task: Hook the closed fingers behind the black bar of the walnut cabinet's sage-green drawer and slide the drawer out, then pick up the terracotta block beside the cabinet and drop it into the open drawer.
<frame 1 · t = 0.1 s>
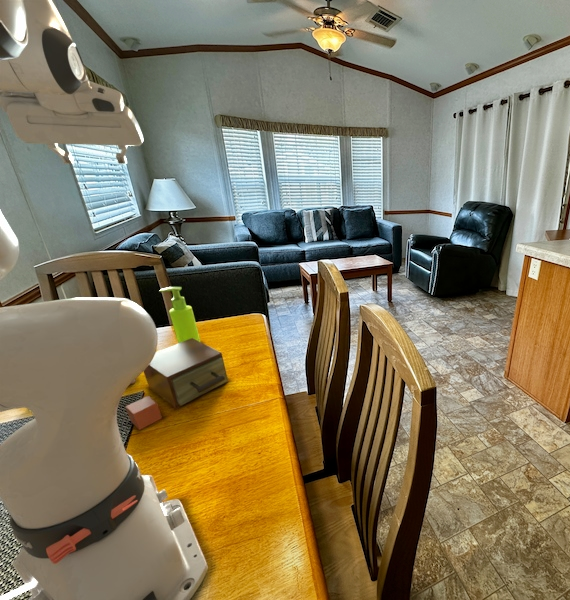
hand: (96, 162, 74), 54 cm above the table, tool tilted 30°, fingers open, 8 cm apart
drawer: (193, 375, 82), point 4 cm above the table, slide at 0.0 cm
soap dispenser: (189, 347, 105), on the table
cabinet: (189, 384, 86), on the table
block: (146, 420, 74), on the table
sunglasses case: (92, 391, 84), on the table
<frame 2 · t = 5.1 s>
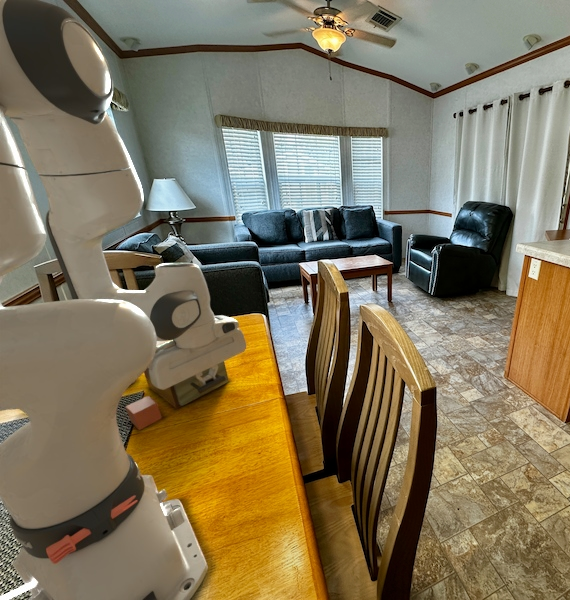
hand: (208, 383, 78), 5 cm above the table, tool pointing down, fingers closed
drawer: (194, 376, 82), point 4 cm above the table, slide at 0.5 cm, touching gripper
everything else where it was.
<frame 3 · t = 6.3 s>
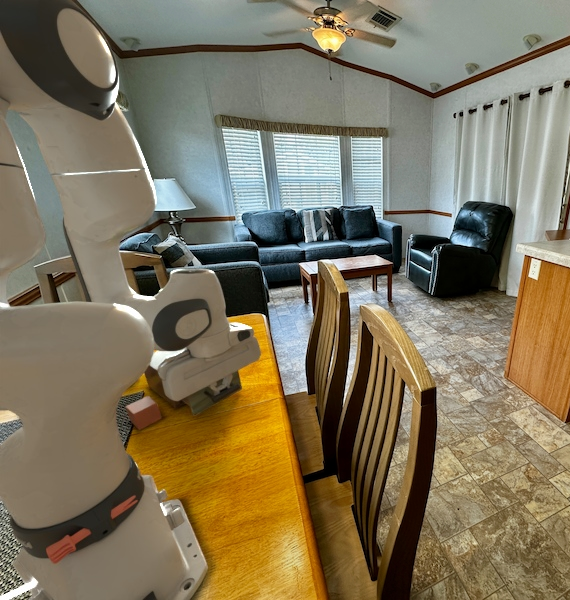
hand: (222, 393, 75), 5 cm above the table, tool pointing down, fingers closed, pressing on drawer
drawer: (207, 383, 79), point 4 cm above the table, slide at 6.4 cm, touching gripper
everything else where it was.
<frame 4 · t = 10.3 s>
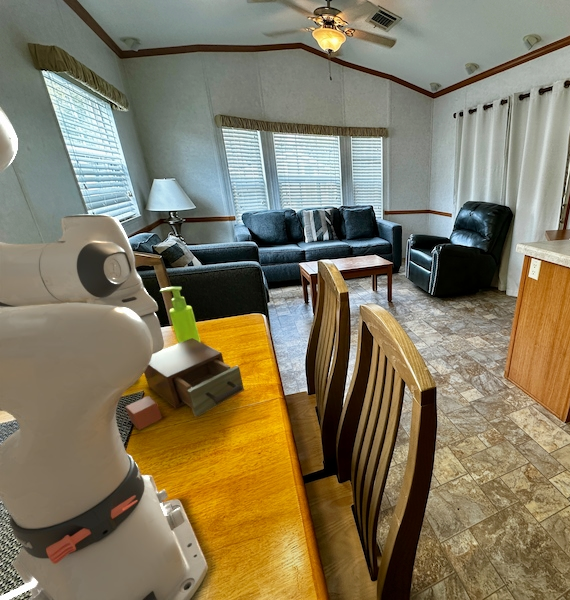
hand: (139, 360, 68), 15 cm above the table, tool pointing down, fingers closed
drawer: (208, 384, 78), point 4 cm above the table, slide at 7.2 cm
everything else where it was.
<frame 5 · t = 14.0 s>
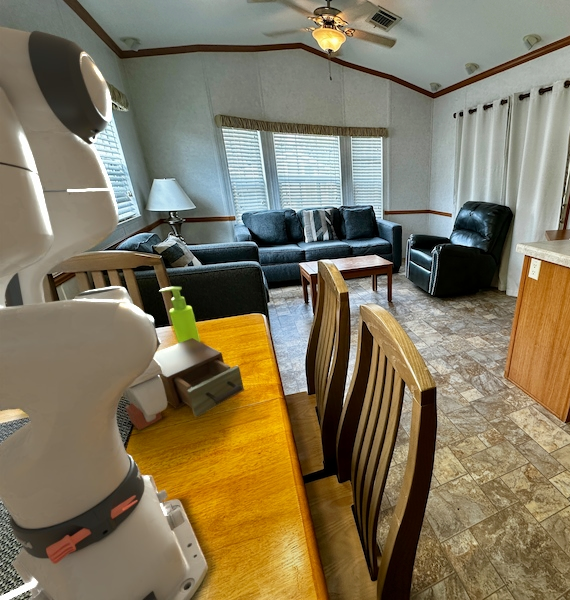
hand: (144, 414, 73), 2 cm above the table, tool pointing down, fingers closed on block, 4 cm apart
block: (146, 420, 74), on the table, touching gripper
everything else where it was.
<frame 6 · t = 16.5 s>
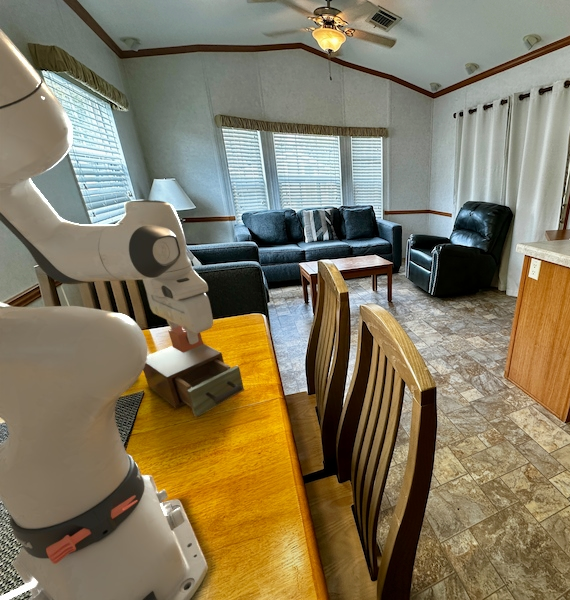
hand: (186, 339, 73), 17 cm above the table, tool pointing down, fingers closed on block, 4 cm apart
block: (188, 345, 74), point 16 cm above the table, touching gripper
everything else where it was.
when the fingers open (9 cm above the table, at t = 19.2 s): block drops 5 cm, resting on drawer.
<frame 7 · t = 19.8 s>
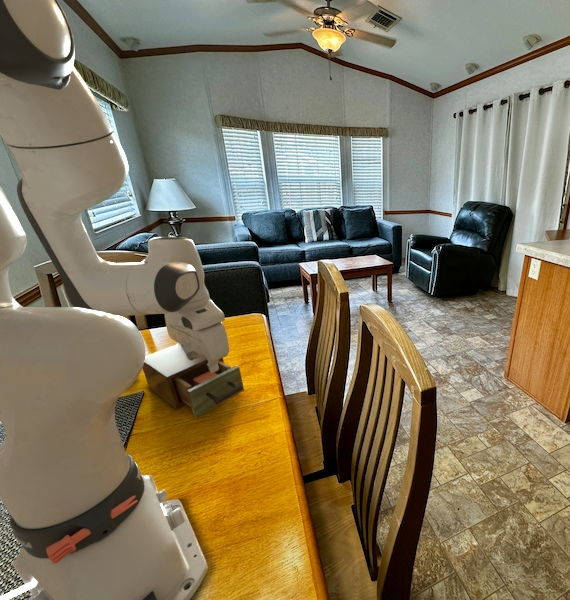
hand: (202, 364, 76), 10 cm above the table, tool pointing down, fingers open, 8 cm apart
drawer: (209, 385, 78), point 4 cm above the table, slide at 7.3 cm, touching block
block: (210, 392, 79), point 2 cm above the table, touching drawer
everything else where it was.
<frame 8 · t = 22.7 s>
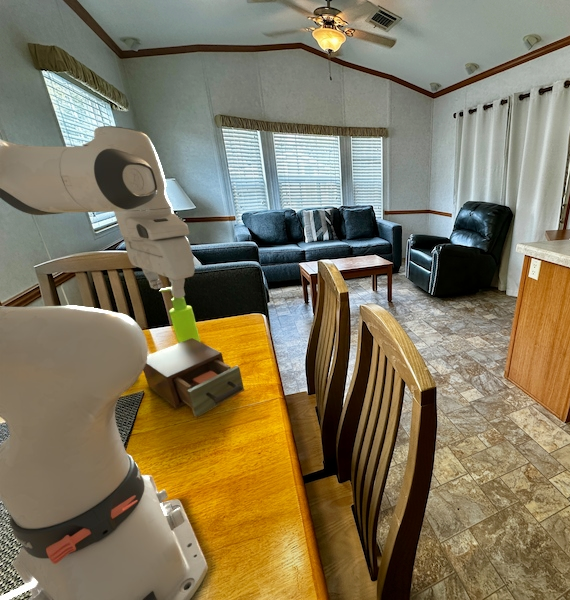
hand: (167, 292, 67), 29 cm above the table, tool pointing down, fingers open, 8 cm apart
nothing on the table moved.
at the end: drawer slide at 7.3 cm; block inside the target area in the drawer (5.3 cm from its centre), point 2.1 cm above the cabinet's base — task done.
